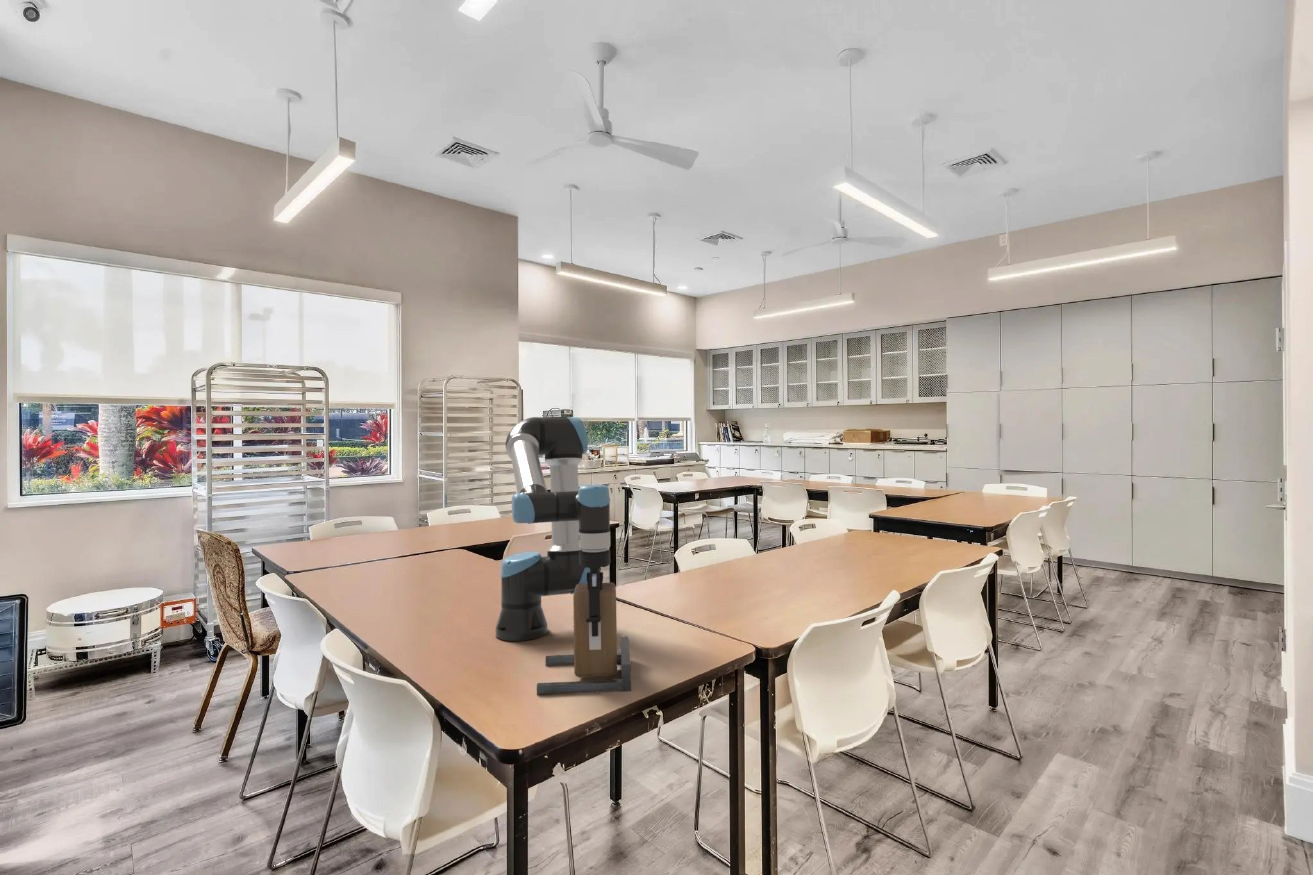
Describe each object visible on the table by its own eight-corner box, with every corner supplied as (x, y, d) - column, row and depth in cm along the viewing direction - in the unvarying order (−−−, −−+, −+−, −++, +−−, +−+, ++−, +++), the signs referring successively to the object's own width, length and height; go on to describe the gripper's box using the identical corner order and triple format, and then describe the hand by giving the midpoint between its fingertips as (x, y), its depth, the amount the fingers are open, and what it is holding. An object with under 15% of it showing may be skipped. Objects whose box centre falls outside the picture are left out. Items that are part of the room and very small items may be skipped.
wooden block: (576, 663, 150) (575, 582, 151) (616, 661, 151) (615, 581, 151) (574, 678, 140) (573, 592, 141) (617, 676, 141) (616, 591, 141)
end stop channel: (536, 695, 135) (536, 668, 135) (546, 663, 155) (546, 639, 155) (630, 690, 136) (630, 664, 136) (628, 659, 156) (628, 636, 156)
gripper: (581, 542, 157) (582, 628, 157) (576, 558, 135) (577, 658, 134) (610, 541, 158) (611, 627, 157) (610, 557, 135) (611, 657, 135)
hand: (595, 641), depth 146 cm, fingers closed on wooden block, 10 cm apart
